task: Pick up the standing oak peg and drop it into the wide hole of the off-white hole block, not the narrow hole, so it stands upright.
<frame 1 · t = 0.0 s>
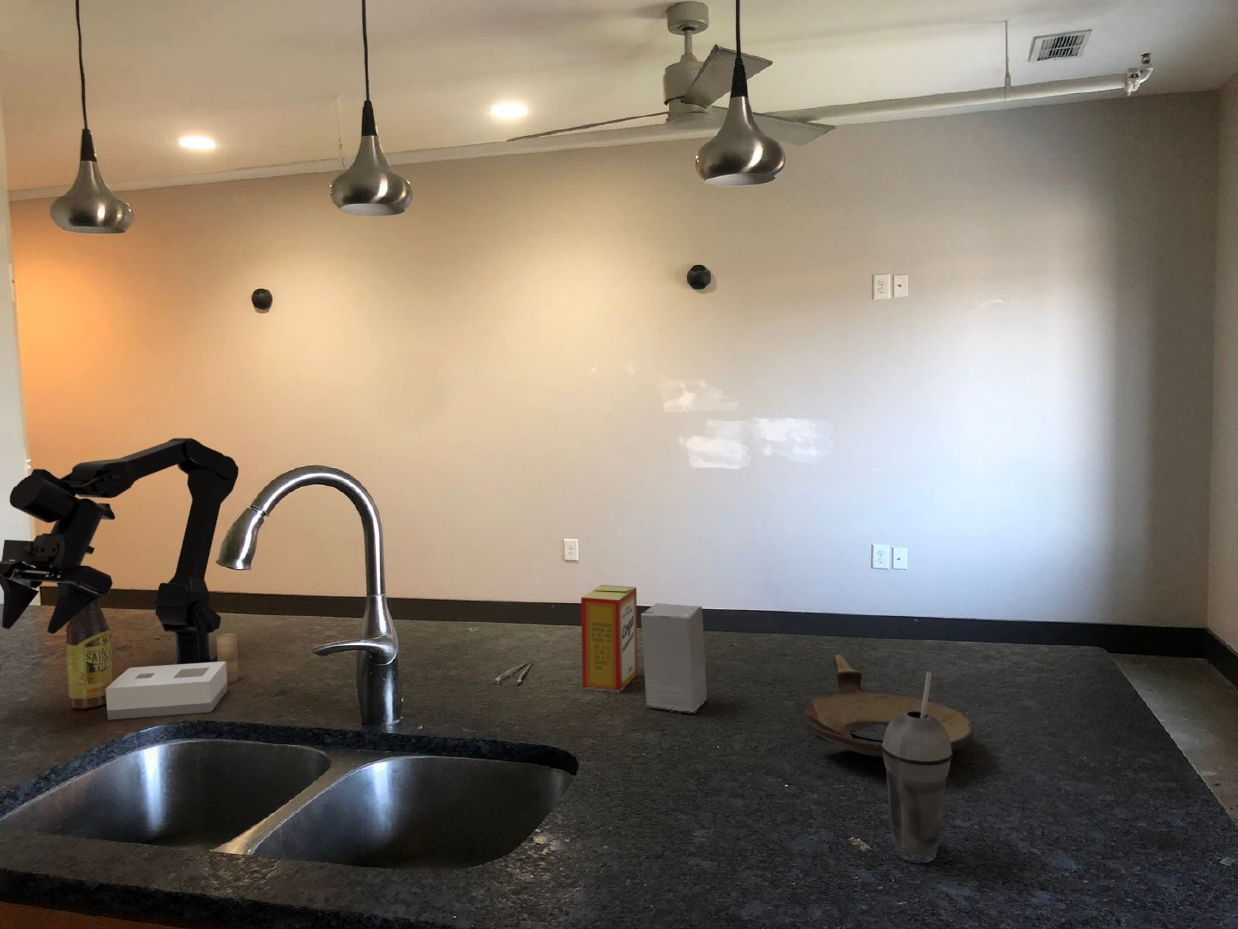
hand: (27, 630, 132), 15 cm above the worktop, tool tilted 35°, fingers open, 9 cm apart
beverage cup: (914, 854, 95), on the worktop
hole block: (170, 704, 141), on the worktop
sauce bottle: (92, 704, 142), on the worktop
oak peg: (228, 680, 152), on the worktop
oil lamp: (885, 742, 124), on the worktop
skincare box: (674, 707, 138), on the worktop
baking soda box: (610, 683, 149), on the worktop
tweezers: (524, 673, 157), on the worktop
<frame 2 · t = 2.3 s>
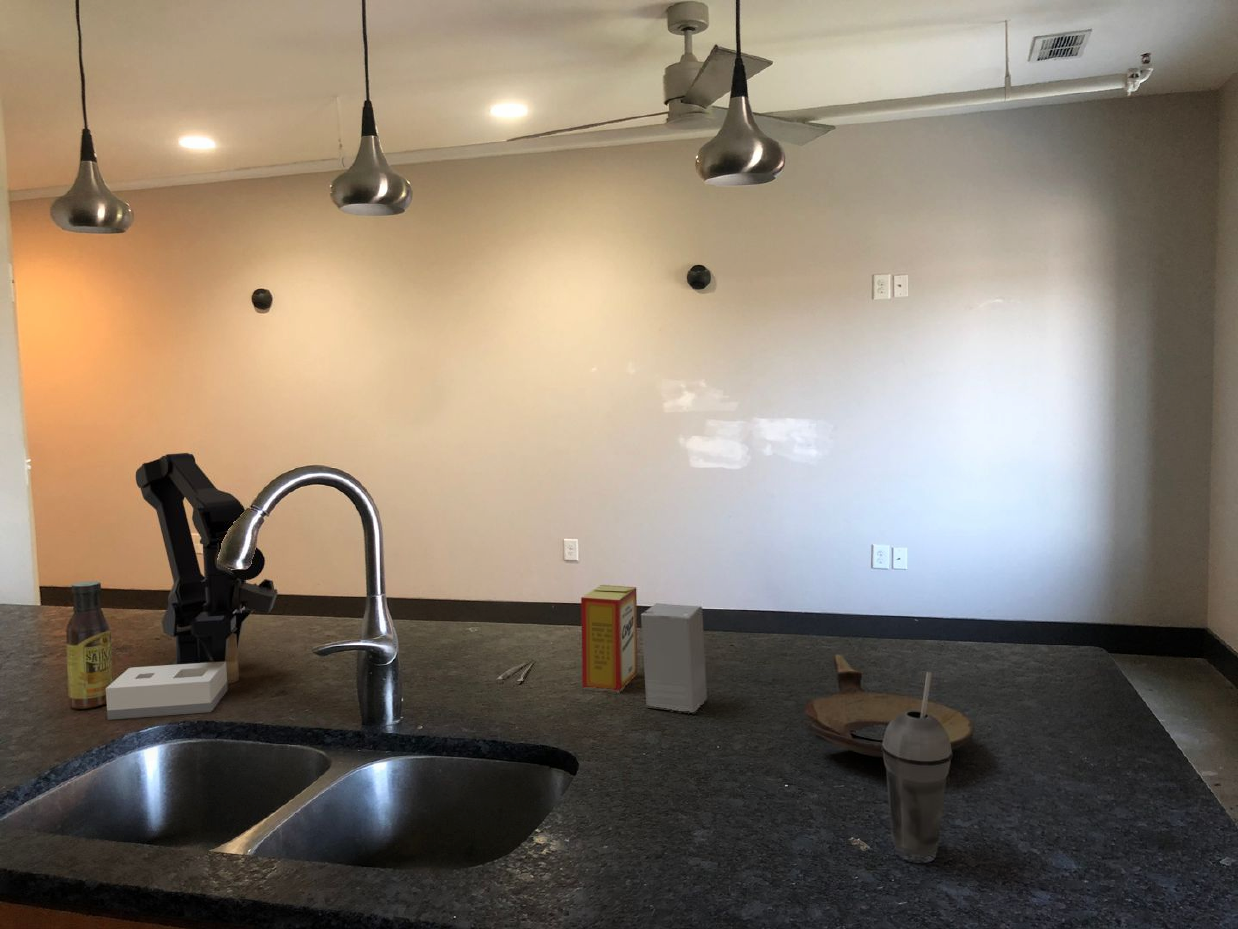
hand: (227, 660, 152), 4 cm above the worktop, tool pointing down, fingers open, 8 cm apart
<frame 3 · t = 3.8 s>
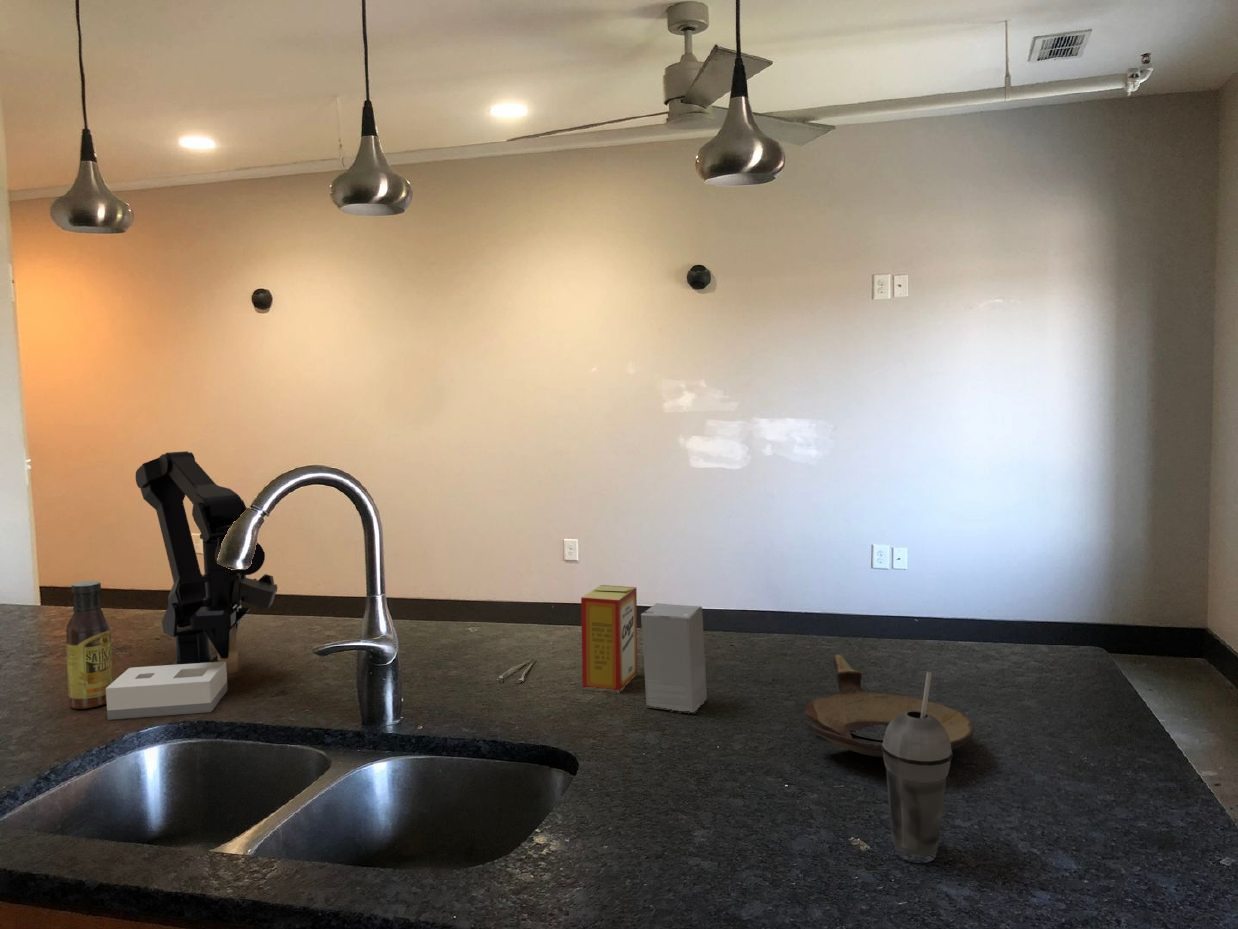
hand: (227, 655, 152), 5 cm above the worktop, tool pointing down, fingers closed on oak peg, 3 cm apart
oak peg: (228, 671, 152), point 2 cm above the worktop, touching gripper
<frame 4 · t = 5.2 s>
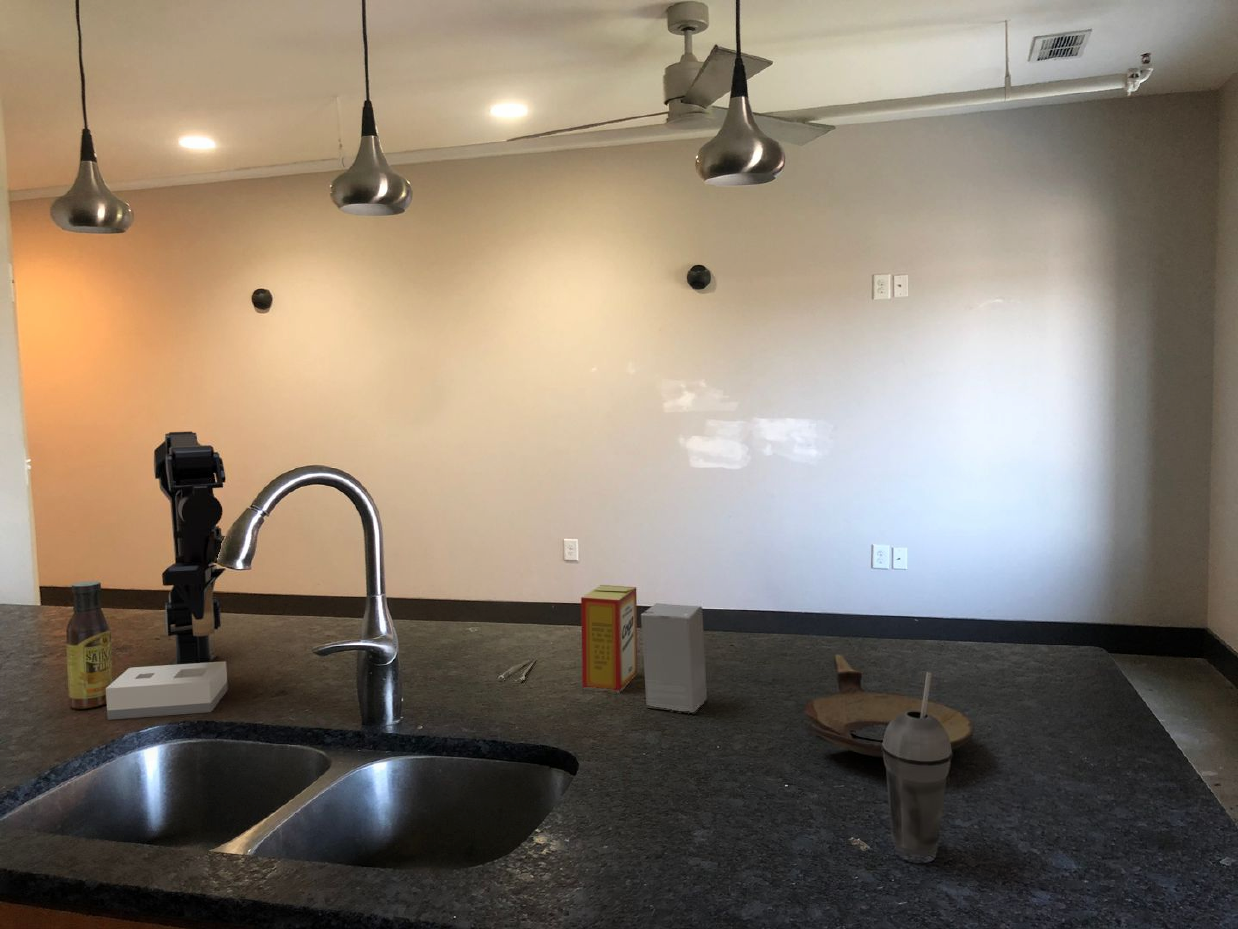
hand: (202, 616, 144), 13 cm above the worktop, tool pointing down, fingers closed on oak peg, 3 cm apart
oak peg: (203, 633, 144), point 11 cm above the worktop, touching gripper
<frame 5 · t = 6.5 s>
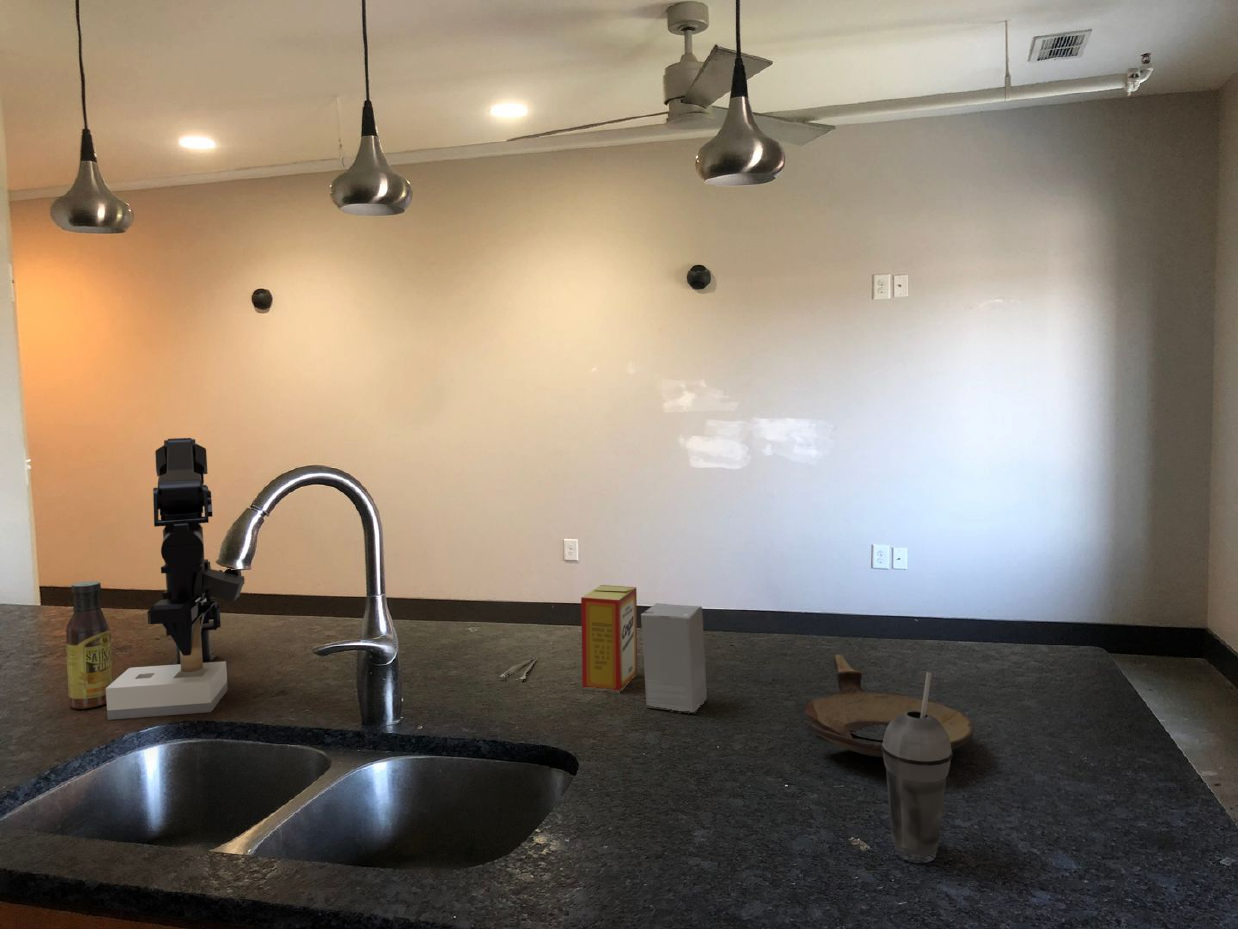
hand: (190, 652, 141), 8 cm above the worktop, tool pointing down, fingers closed on oak peg, 3 cm apart
oak peg: (192, 668, 142), point 6 cm above the worktop, touching gripper
when the fingers open (6 cm above the worktop, at t = 7.4 s): oak peg drops 1 cm, resting on hole block.
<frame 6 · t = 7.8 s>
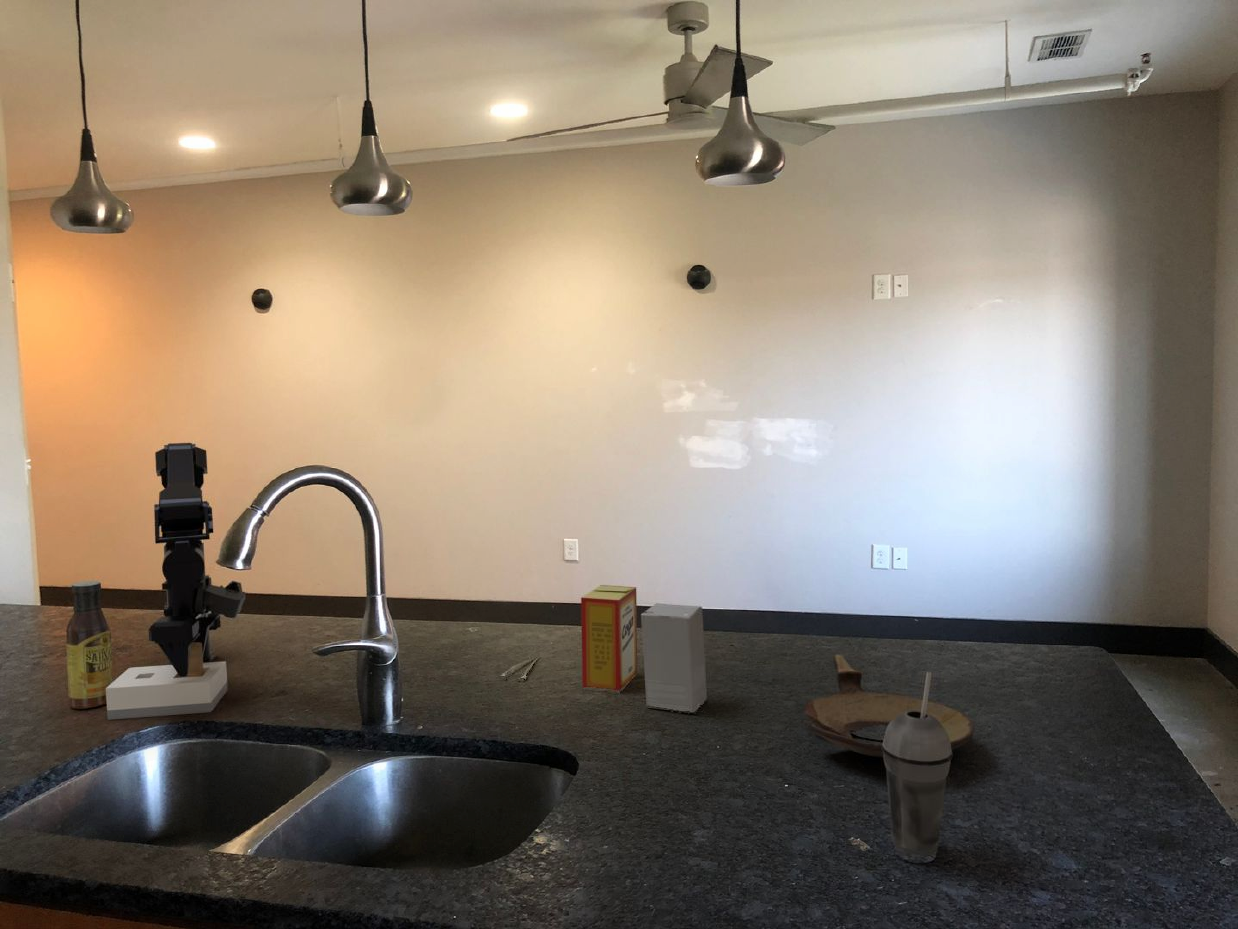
hand: (191, 668, 142), 6 cm above the worktop, tool pointing down, fingers open, 8 cm apart
oak peg: (193, 693, 142), point 2 cm above the worktop, touching hole block
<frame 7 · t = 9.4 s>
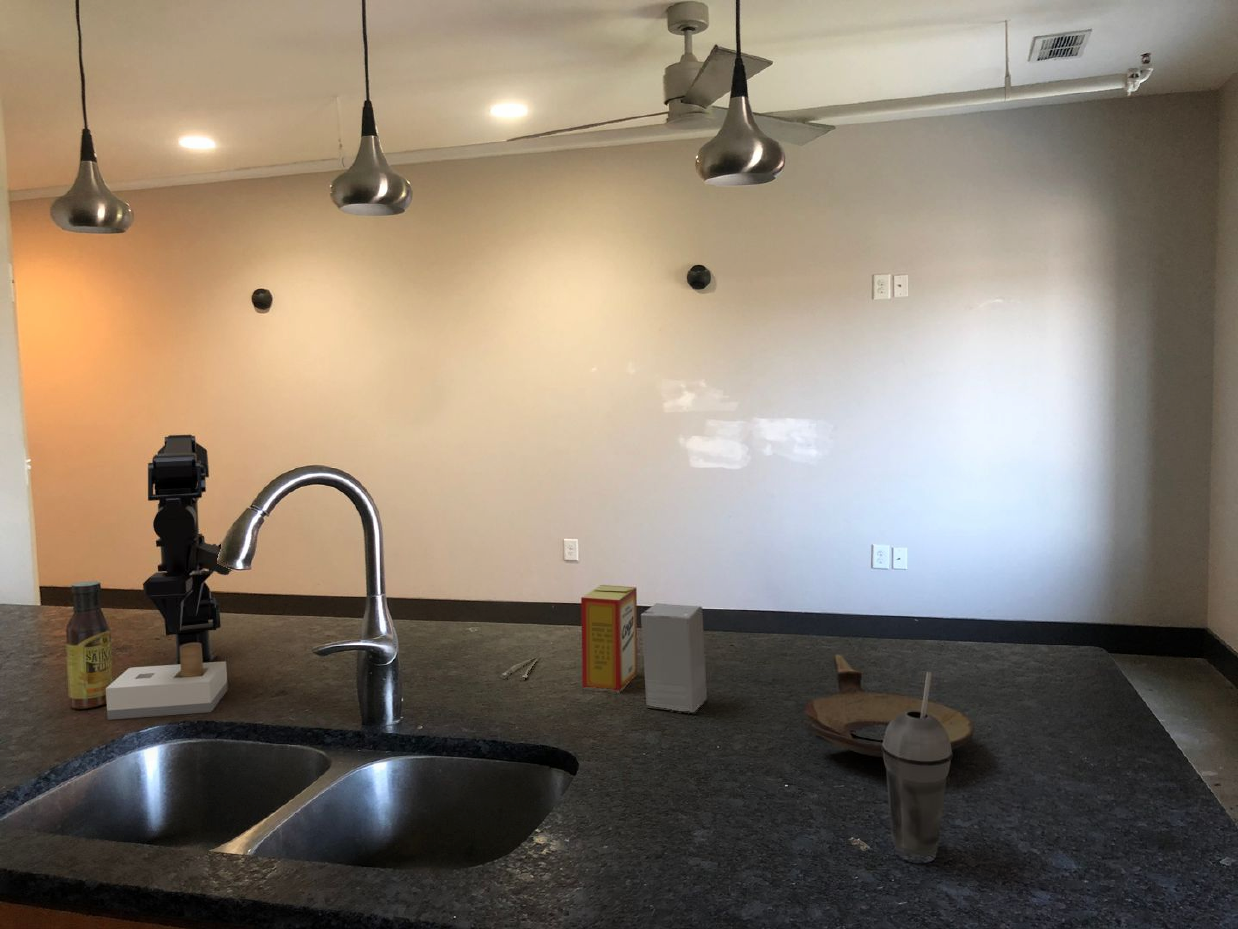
hand: (185, 623, 145), 12 cm above the worktop, tool pointing down, fingers open, 9 cm apart
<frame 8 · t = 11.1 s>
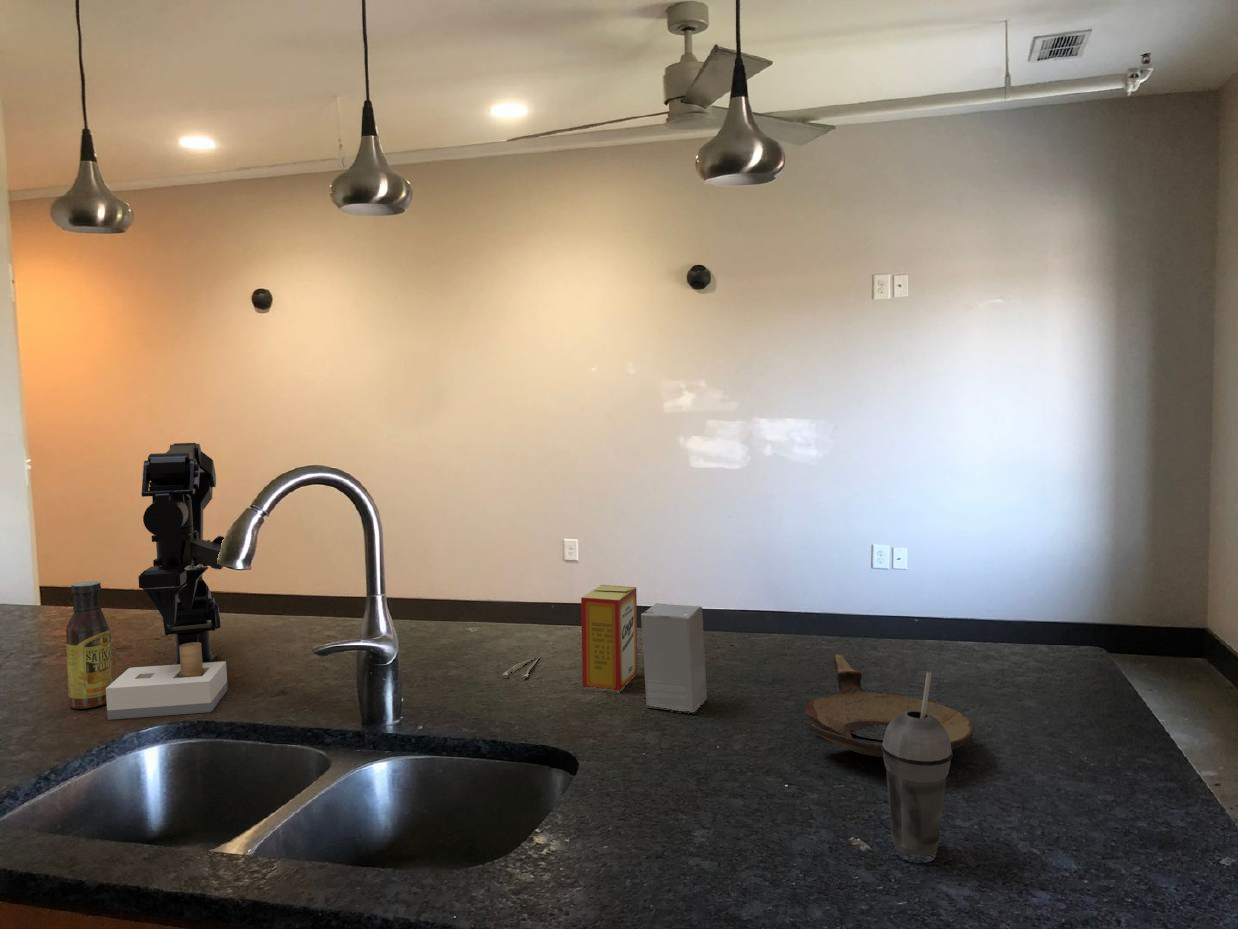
hand: (179, 617, 149), 12 cm above the worktop, tool pointing down, fingers open, 9 cm apart
at the end: oak peg 0.1 cm from the target spot on the hole block, point 1.5 cm above the hole block's base; oak peg tilted 1°; the gripper is holding nothing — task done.
